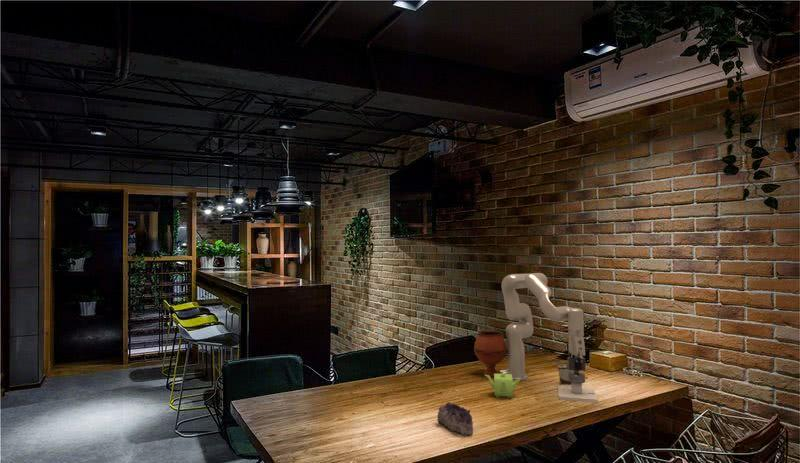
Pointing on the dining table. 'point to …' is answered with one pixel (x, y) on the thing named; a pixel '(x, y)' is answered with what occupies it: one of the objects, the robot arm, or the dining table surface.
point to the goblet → (490, 349)
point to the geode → (456, 419)
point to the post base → (576, 397)
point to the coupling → (576, 371)
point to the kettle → (503, 384)
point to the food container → (564, 374)
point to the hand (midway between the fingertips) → (576, 368)
